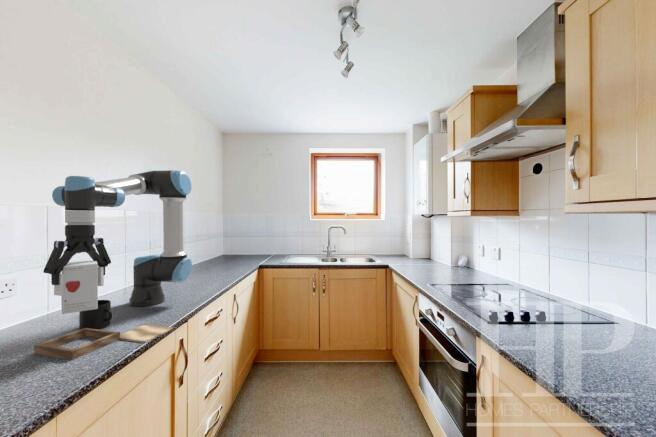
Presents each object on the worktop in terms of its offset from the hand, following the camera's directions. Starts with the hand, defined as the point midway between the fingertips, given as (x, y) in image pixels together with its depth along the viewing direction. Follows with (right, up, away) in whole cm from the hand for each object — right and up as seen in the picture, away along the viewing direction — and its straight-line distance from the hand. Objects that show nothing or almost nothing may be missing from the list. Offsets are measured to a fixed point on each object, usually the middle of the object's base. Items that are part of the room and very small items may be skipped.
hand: (80, 290), depth 98 cm
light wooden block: (+15, -18, +11) cm, 26 cm away
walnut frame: (0, -18, 0) cm, 18 cm away
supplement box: (0, -6, 0) cm, 6 cm away
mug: (-7, -18, +17) cm, 26 cm away
